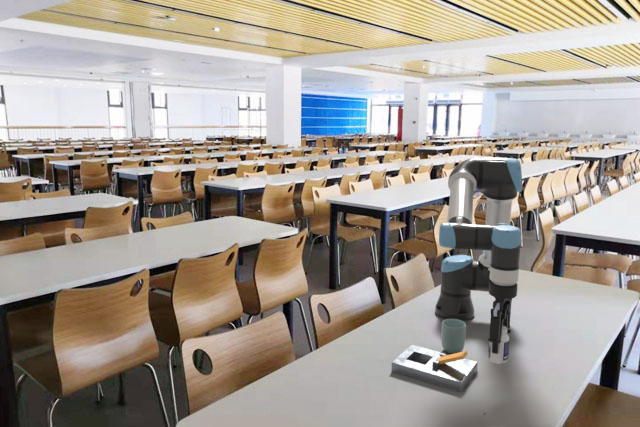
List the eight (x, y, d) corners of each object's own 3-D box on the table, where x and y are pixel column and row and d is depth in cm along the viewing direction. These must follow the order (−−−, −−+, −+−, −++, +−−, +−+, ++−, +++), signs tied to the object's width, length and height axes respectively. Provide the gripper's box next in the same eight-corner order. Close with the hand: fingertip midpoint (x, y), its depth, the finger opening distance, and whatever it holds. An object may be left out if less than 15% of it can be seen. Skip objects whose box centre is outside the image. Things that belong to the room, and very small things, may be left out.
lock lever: (439, 360, 161) (438, 356, 161) (468, 354, 155) (466, 349, 155) (434, 366, 157) (432, 362, 157) (463, 360, 152) (461, 355, 152)
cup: (448, 357, 169) (449, 329, 167) (436, 347, 176) (437, 320, 174) (469, 354, 171) (470, 326, 169) (456, 344, 178) (458, 317, 176)
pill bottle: (503, 354, 151) (505, 323, 149) (510, 363, 145) (513, 331, 143) (485, 354, 151) (487, 323, 148) (492, 364, 145) (494, 331, 143)
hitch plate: (411, 353, 172) (411, 339, 171) (476, 370, 160) (477, 356, 159) (391, 371, 160) (391, 356, 159) (460, 392, 148) (461, 376, 147)
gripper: (498, 270, 152) (493, 342, 157) (479, 288, 138) (475, 368, 142) (525, 274, 148) (519, 348, 153) (508, 294, 133) (502, 375, 138)
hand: (498, 357), depth 148 cm, fingers closed on pill bottle, 5 cm apart
